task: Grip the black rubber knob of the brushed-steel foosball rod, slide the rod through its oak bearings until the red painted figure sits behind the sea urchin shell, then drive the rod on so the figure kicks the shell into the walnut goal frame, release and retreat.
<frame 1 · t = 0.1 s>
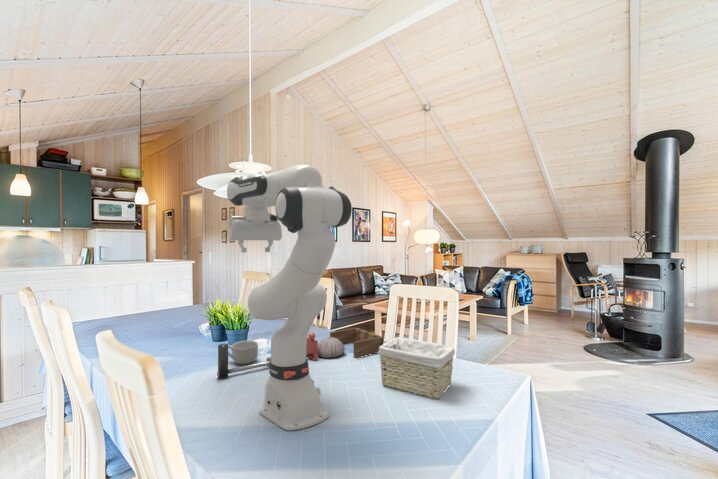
hand: (255, 252, 136), 48 cm above the table, fingers open, 8 cm apart
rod: (270, 351, 144), point 6 cm above the table, slide at 0.0 cm
sea urchin shell: (330, 355, 161), on the table
storage basket: (416, 387, 126), on the table
goal: (355, 349, 169), on the table
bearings: (286, 364, 148), on the table
teacup: (241, 362, 150), on the table
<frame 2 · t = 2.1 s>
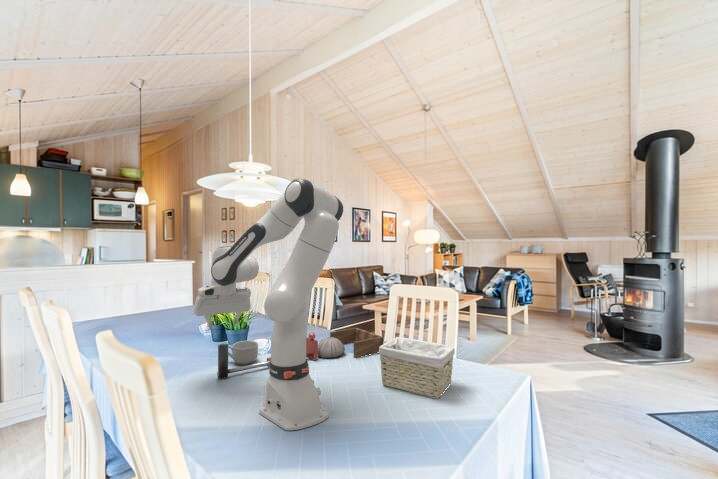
hand: (222, 325, 133), 20 cm above the table, fingers open, 8 cm apart
nothing on the table moved.
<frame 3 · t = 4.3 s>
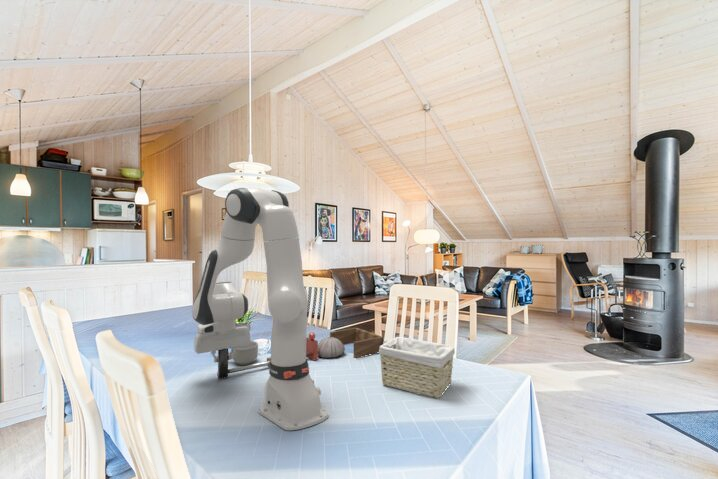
hand: (223, 360, 133), 7 cm above the table, fingers closed on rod, 4 cm apart
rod: (270, 351, 144), point 6 cm above the table, slide at 0.0 cm, touching gripper
everything else where it was.
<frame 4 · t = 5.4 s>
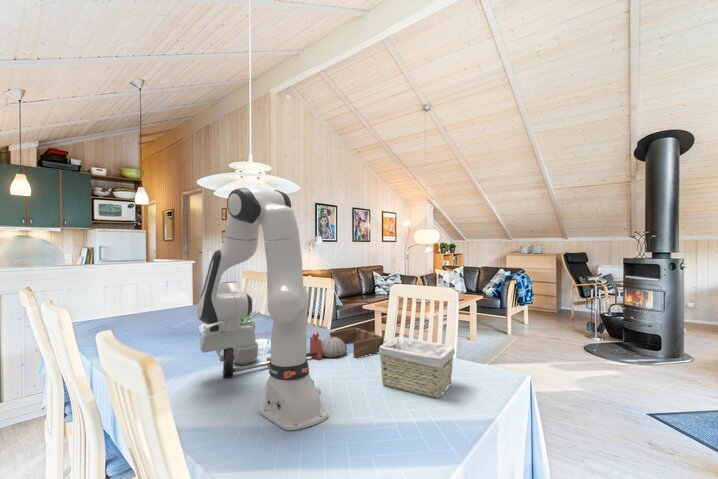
hand: (228, 359, 134), 7 cm above the table, fingers closed on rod, 4 cm apart
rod: (275, 350, 145), point 7 cm above the table, slide at 1.9 cm, touching gripper, sea urchin shell
sea urchin shell: (332, 355, 162), on the table, touching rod
everything else where it was.
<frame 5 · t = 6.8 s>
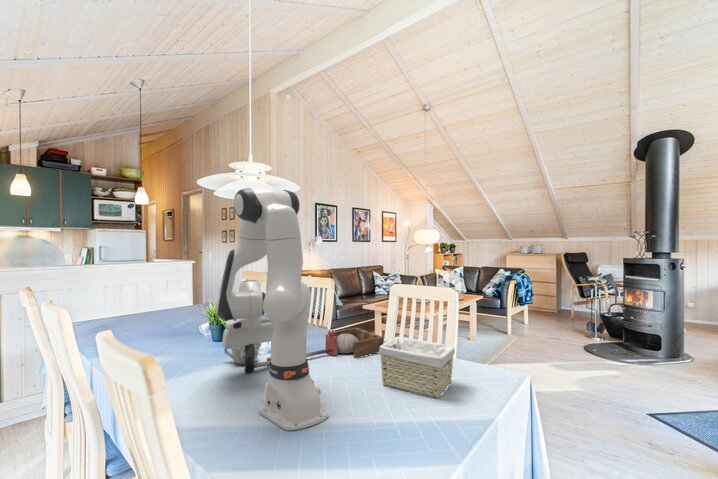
hand: (249, 355, 139), 7 cm above the table, fingers closed on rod, 4 cm apart
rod: (293, 347, 150), point 6 cm above the table, slide at 10.1 cm, touching gripper, sea urchin shell
sea urchin shell: (346, 351, 167), on the table, touching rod
everything else where it was.
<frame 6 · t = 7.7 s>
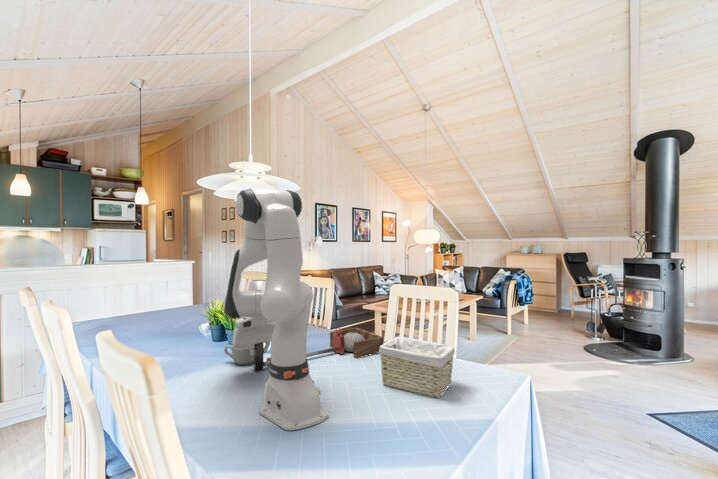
hand: (258, 353, 141), 7 cm above the table, fingers closed on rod, 4 cm apart
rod: (301, 345, 152), point 6 cm above the table, slide at 13.9 cm, touching gripper, sea urchin shell
sea urchin shell: (352, 349, 169), on the table, touching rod
everything else where it was.
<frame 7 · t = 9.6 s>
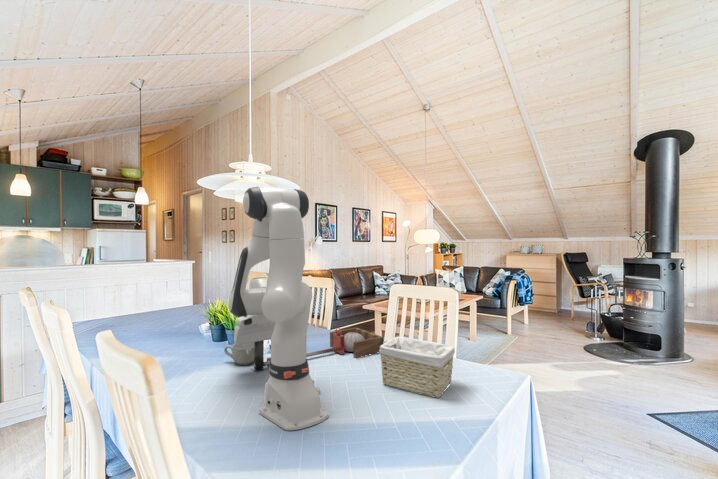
hand: (260, 351, 141), 7 cm above the table, fingers open, 8 cm apart
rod: (301, 345, 153), point 6 cm above the table, slide at 13.9 cm, touching sea urchin shell
everything else where it was.
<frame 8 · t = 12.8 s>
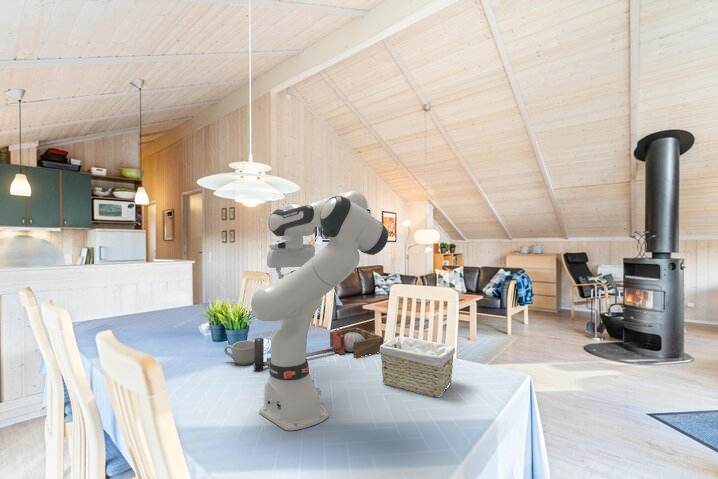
hand: (291, 278, 142), 37 cm above the table, fingers open, 8 cm apart
at the end: sea urchin shell inside the target area (3.1 cm from its centre), on the table; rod slide at 13.9 cm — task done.
